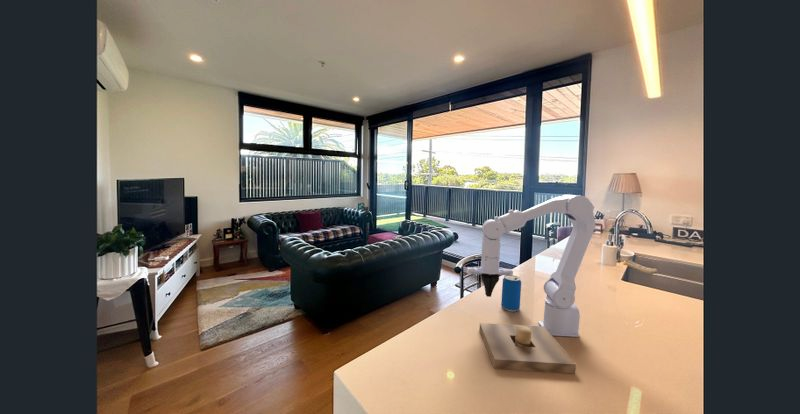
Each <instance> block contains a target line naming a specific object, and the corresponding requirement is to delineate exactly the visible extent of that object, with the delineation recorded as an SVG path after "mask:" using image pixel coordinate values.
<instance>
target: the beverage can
mask: <svg viewBox="0 0 800 414" xmlns="http://www.w3.org/2000/svg"><path fill="white" fill-rule="evenodd" d="M503 276H504V277H502V287H501V307H502V308H503V309H504V310H506V311H508V312H517V311H518V310H520V306H521V295H522V294H521V293H522V280H521V278H520V277H519V276H517V275H514V274H513V276H507V275H503Z"/></svg>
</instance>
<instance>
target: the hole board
mask: <svg viewBox="0 0 800 414" xmlns="http://www.w3.org/2000/svg"><path fill="white" fill-rule="evenodd" d="M517 326H525V327H527V328H529V329H530V330H531V344H530V347H520V346H515V335H516V327H517ZM478 331H479V334H480V335H481V338H482V340H483V341H482V342H483V343H484V346H485V348H486V351H487V353H488V356H489V359H490V360H491V364H492V366H493V369H495V370H497V369H498V370H499V369H500V370H514V371H515V370H516V371H530V372H541V373H542V372H544V373H545V372H546V373H556V374H558V373H559V374H561V373H562V374H574V375H575V374H576V369H577V363H576V362H574V360H573V359H572V358H571V357H570V355H569V354H568V353H567V352H566V351H565V349H564V348H563V346H561V345H560V344H559V342H558V341H557V339H555V336H553V335H551V334H550V333H549V331H548V330H547V329H546V328H545V327H544V326H541V325H539V326H538V325H527V324H526V325H524V324H504V323H487V322H479V330H478Z"/></svg>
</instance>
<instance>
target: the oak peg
mask: <svg viewBox="0 0 800 414" xmlns="http://www.w3.org/2000/svg"><path fill="white" fill-rule="evenodd" d="M530 344H531V330H530V329H529V328H527V327H525V326H517V327H516V335H515V346H520V347H530Z"/></svg>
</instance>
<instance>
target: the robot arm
mask: <svg viewBox="0 0 800 414" xmlns="http://www.w3.org/2000/svg"><path fill="white" fill-rule="evenodd" d="M594 209H595V206H594V205H593V203H592V202H591V200H590V199H589V198H588V197H586V196H584V195H575V194H571V193H567V194H562V195H561V196H556V197H555V196H554V197H553V198H551V199H548V200H546V201H544V202H542V203H539V204H536V205H533V206H532V207H530V208H528V209H526V210H523V211H520V210H519V209H515V210H513V209H509V210H508V212H507V213H505V214H503V215H500V216H497V215H496V216H494V219H491V218H490V219H487V220H485V221H484V222H483V223H482V226H481V231H482V232H483V235H482V242H481V257H480V258H481V259H480V266H467V267H466V274H467V275H479V276H480V278H481V280H482V283H483V286H484V287H483V288H484V291H485V292H484V293H485V296H486V297H490V298H491V297H492V294H493V291H494V289H495V286H496V285H497V284H498V282H499V281H500V277H499V276H505V275H507V276H513V275H514V271H513V269H512V268H507V267H506V268H504V267H500V258H501V257H500V256H501V237H502V236H503V234H507V233H510V232H513V231H514V230H516V231H517V230H518V229H521V228H523V227H525V226H526V223H527V221H531V220H533V219H537V218H540V217H543V216H546V215H548V214H551V213H555V214H556V213H557V214H563V215H565V216H566V217H567V218H568V219H569V221H570V222H571V224H572V225H573V227H572V230H571V232H570V235H569V238H568V240H567V243H566V245H565V248H564V251H563V253H562V255H561V258H560V260H559V263H558V266H557V268H556V270H555V272H553V273H551V275H550V277H549V278H548V279H547V280H546V281H545V282H544V284H543V291H544V293H545V294H546V297H545V299H544V308H543V309H544V311H543V312H544V313H543V321H541V320H540V321H539V320H538V322H537V323H538V324H539V326H544V327H545V328H546V329H547V330H548V331H549V333H550V334H551V335H552V336H553V337H555V336H557V337H573V338H575V337H576V338H579V337H580V334H579V329H580V319H581V318H580V317H581V315H580V311H579V308H578V307H577V305H576V304H575V302H576V296H575V293H576V290H577V286H576V281H575V279H576V276H577V274H578V271H579V269H580V266H581V264H582V261H583V258H584V256H585V254H586V251H587V248H588V247H589V243H590V241H591V239H592V237H593V234H594V231H595V229H596V220H595V215H594Z"/></svg>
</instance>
